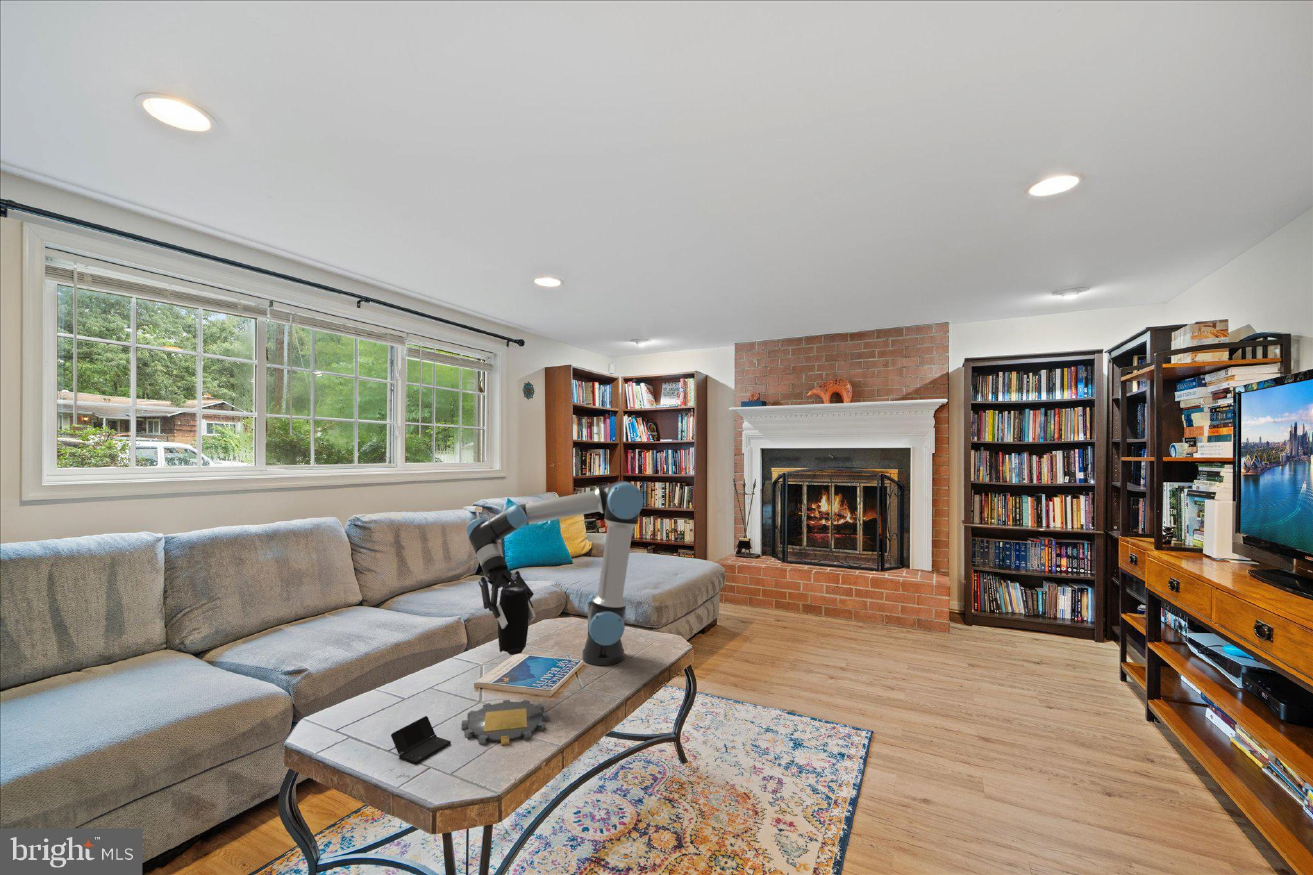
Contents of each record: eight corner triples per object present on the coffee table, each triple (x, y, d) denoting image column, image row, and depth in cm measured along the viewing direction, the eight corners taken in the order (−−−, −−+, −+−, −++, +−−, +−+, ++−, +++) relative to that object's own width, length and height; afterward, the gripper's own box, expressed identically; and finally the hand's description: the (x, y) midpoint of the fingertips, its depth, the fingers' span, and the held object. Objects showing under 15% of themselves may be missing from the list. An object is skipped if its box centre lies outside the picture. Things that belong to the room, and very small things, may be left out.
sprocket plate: (465, 708, 165) (465, 702, 165) (546, 701, 170) (546, 695, 170) (457, 749, 142) (457, 742, 142) (550, 739, 148) (550, 732, 148)
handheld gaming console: (424, 759, 135) (407, 720, 138) (402, 775, 136) (386, 735, 139) (455, 743, 146) (438, 706, 149) (434, 757, 147) (418, 721, 150)
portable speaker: (532, 647, 177) (534, 584, 178) (515, 658, 169) (517, 592, 169) (509, 643, 180) (511, 581, 180) (491, 653, 171) (493, 588, 172)
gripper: (516, 563, 193) (543, 621, 182) (456, 573, 177) (481, 637, 166) (526, 550, 189) (554, 608, 179) (465, 559, 173) (492, 623, 162)
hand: (519, 622), depth 172 cm, fingers closed on portable speaker, 9 cm apart
